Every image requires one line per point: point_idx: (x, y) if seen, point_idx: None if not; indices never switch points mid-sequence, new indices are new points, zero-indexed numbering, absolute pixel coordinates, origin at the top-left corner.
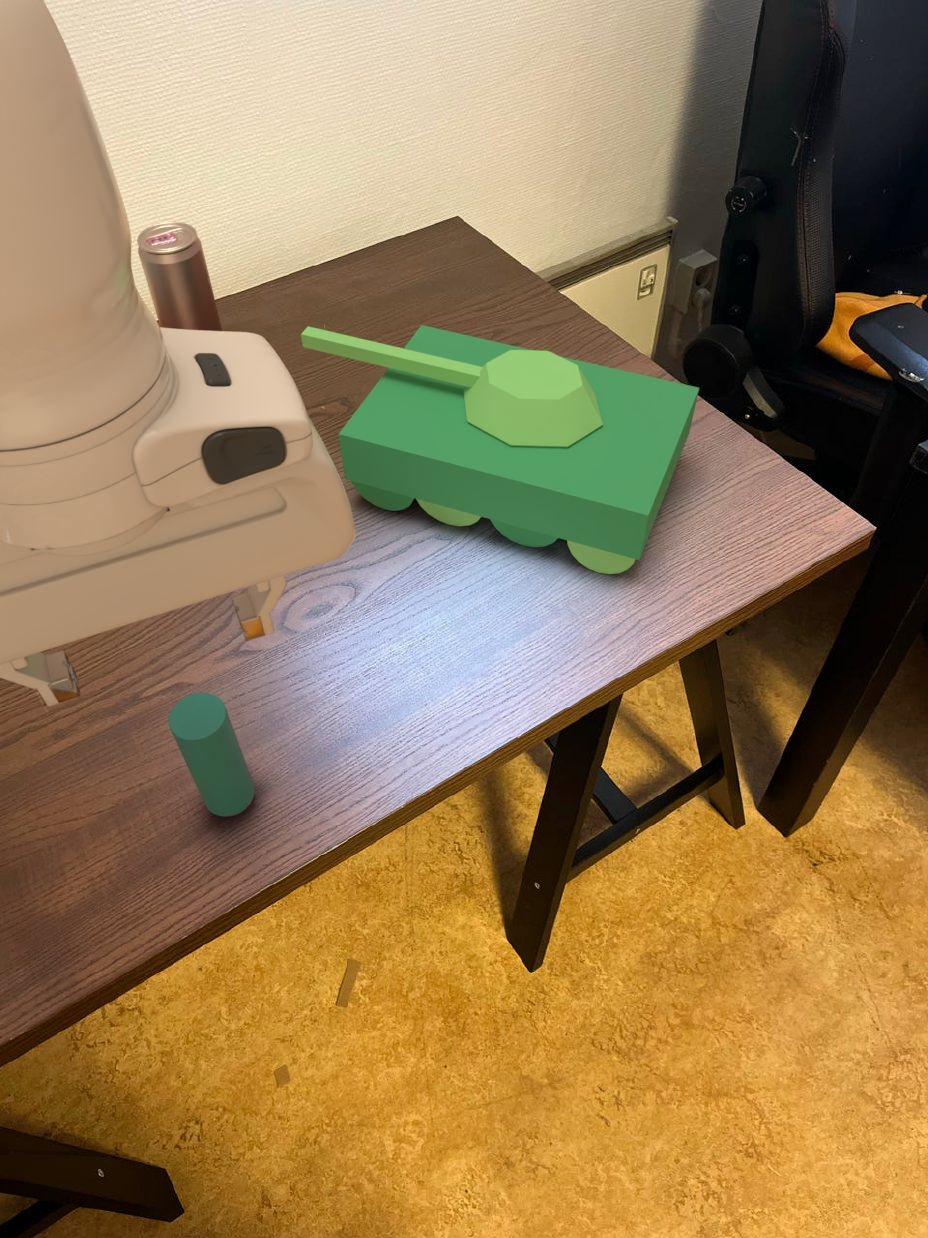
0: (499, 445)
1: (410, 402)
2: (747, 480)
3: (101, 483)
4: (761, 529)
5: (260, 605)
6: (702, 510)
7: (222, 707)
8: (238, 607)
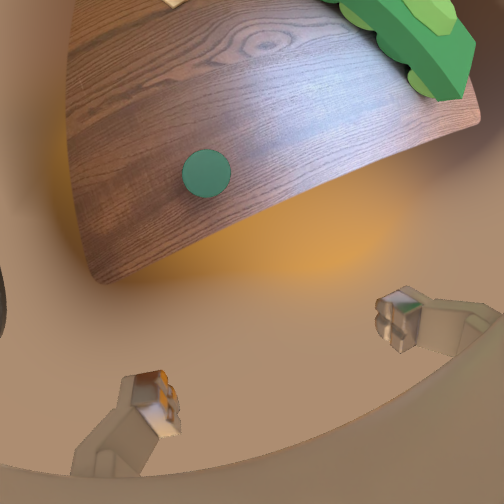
0: (408, 12)
1: None
2: None
3: None
4: (461, 101)
5: (431, 347)
6: None
7: (228, 168)
8: (405, 331)
